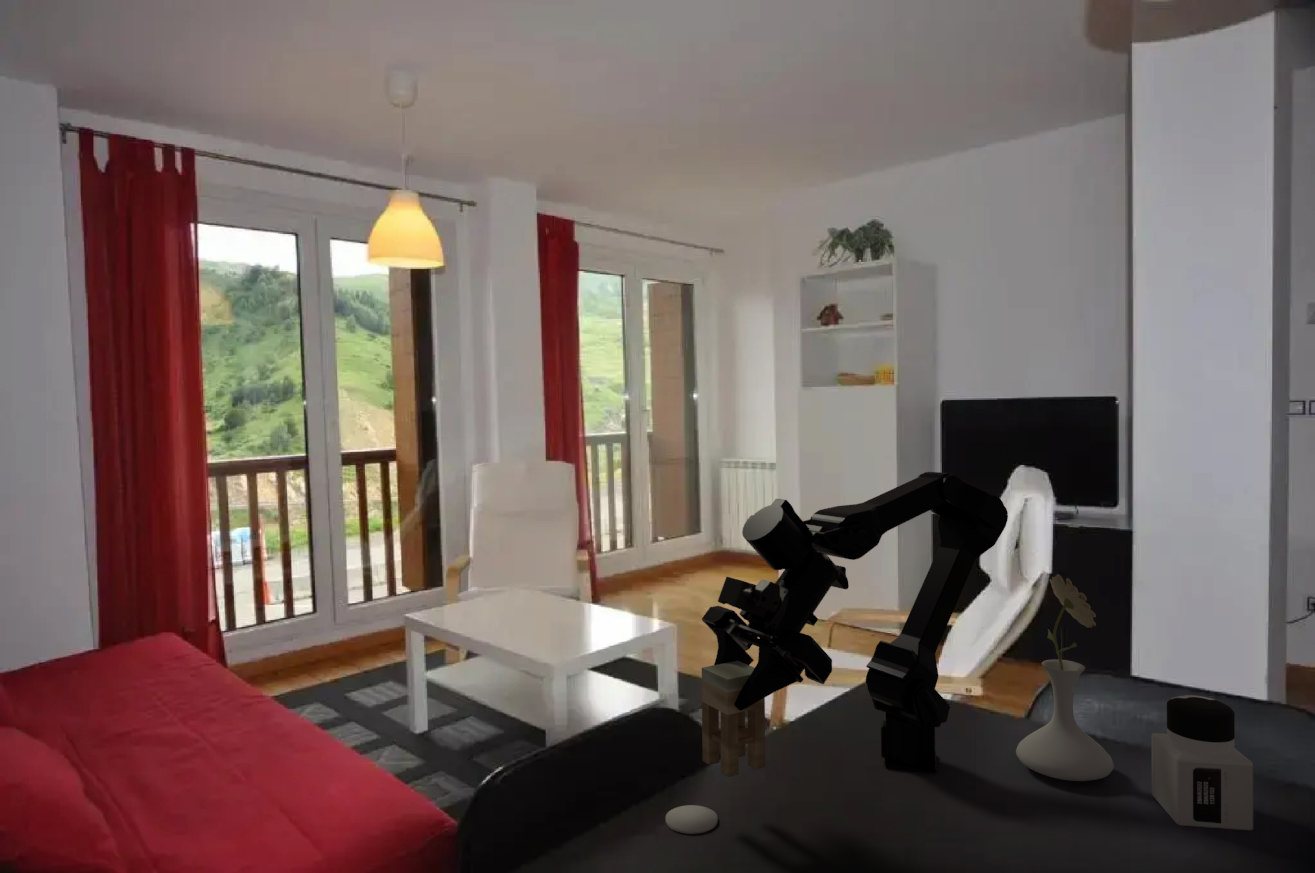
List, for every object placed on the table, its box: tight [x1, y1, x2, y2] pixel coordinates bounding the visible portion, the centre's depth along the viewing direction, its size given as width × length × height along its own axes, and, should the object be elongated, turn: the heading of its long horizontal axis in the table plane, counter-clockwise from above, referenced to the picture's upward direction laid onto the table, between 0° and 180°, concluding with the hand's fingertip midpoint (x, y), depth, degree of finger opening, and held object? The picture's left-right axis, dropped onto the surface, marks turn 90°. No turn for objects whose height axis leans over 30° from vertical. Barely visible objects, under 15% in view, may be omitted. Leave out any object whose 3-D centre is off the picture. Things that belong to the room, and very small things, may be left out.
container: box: [1150, 694, 1254, 831], centre depth 96 cm, size 8×8×13 cm
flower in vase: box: [1015, 573, 1115, 782], centre depth 108 cm, size 13×11×25 cm
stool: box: [701, 661, 766, 778], centre depth 96 cm, size 5×5×11 cm
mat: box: [665, 804, 719, 835], centre depth 96 cm, size 6×6×1 cm
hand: (722, 700), depth 96 cm, fingers closed on stool, 5 cm apart
